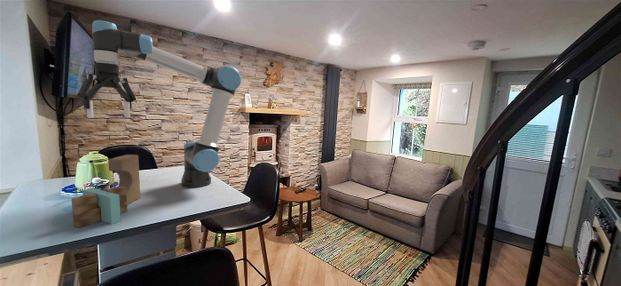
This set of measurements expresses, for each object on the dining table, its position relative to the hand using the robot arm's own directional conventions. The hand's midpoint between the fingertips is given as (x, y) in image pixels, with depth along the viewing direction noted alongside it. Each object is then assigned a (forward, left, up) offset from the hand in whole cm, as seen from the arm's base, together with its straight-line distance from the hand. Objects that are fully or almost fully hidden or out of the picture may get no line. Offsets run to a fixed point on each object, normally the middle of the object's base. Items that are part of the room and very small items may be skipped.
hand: (110, 117), depth 104 cm
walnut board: (+4, +14, -37) cm, 39 cm away
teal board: (+4, +14, -37) cm, 39 cm away
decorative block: (-4, 0, -37) cm, 37 cm away
